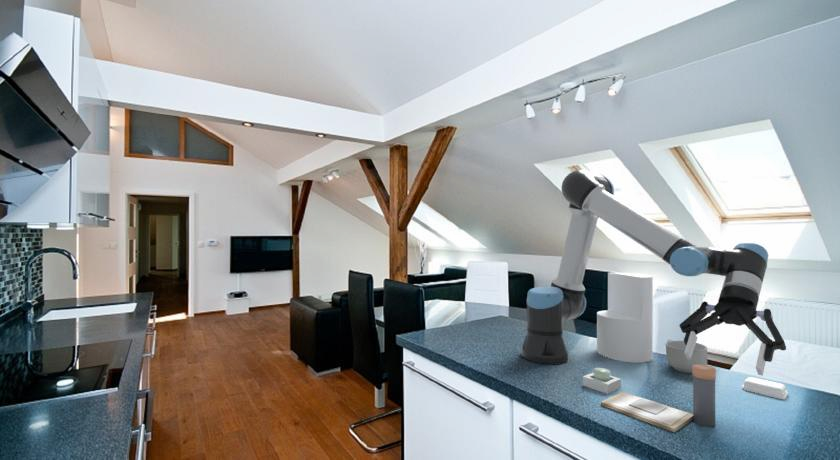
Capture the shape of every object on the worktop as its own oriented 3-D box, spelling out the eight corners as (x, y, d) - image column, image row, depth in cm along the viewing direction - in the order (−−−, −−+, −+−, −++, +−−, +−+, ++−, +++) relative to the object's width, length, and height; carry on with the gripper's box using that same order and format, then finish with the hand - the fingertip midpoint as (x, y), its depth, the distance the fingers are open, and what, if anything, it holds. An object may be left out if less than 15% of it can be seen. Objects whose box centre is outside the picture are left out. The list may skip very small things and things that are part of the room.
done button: (590, 380, 106) (590, 369, 106) (598, 377, 108) (598, 366, 108) (605, 385, 103) (605, 373, 103) (612, 381, 105) (612, 370, 105)
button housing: (582, 385, 106) (582, 376, 106) (596, 380, 110) (596, 371, 110) (607, 394, 101) (607, 384, 101) (620, 387, 105) (621, 378, 105)
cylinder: (628, 346, 145) (628, 272, 145) (665, 361, 128) (665, 277, 128) (586, 348, 142) (587, 272, 142) (618, 363, 125) (618, 277, 125)
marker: (689, 421, 86) (689, 366, 86) (696, 416, 88) (696, 363, 89) (712, 429, 83) (711, 372, 83) (718, 423, 85) (718, 368, 85)
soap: (740, 390, 105) (740, 379, 105) (745, 384, 109) (745, 374, 109) (785, 401, 98) (785, 390, 98) (789, 394, 102) (789, 383, 102)
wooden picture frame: (600, 405, 94) (600, 400, 94) (623, 394, 100) (623, 390, 100) (674, 432, 81) (674, 427, 81) (694, 418, 87) (694, 413, 87)
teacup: (715, 377, 113) (714, 350, 113) (674, 374, 115) (674, 348, 115) (691, 362, 127) (691, 338, 127) (655, 360, 129) (655, 336, 129)
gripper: (810, 309, 90) (797, 389, 81) (687, 296, 110) (666, 358, 101) (805, 289, 87) (791, 369, 78) (680, 279, 107) (657, 341, 98)
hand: (721, 363), depth 89 cm, fingers open, 13 cm apart
